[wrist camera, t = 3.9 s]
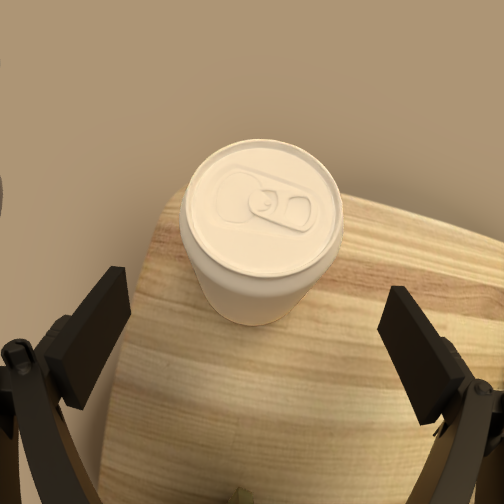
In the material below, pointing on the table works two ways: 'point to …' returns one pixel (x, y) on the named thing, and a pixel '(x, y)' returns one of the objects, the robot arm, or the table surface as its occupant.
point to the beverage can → (260, 228)
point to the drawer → (241, 497)
